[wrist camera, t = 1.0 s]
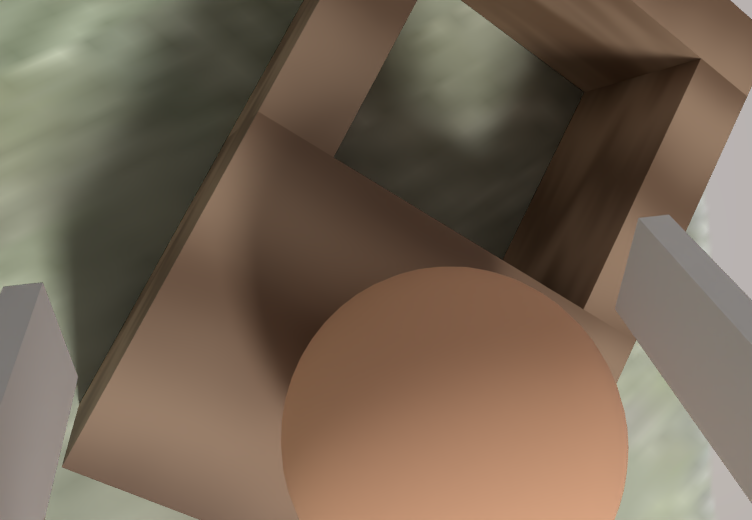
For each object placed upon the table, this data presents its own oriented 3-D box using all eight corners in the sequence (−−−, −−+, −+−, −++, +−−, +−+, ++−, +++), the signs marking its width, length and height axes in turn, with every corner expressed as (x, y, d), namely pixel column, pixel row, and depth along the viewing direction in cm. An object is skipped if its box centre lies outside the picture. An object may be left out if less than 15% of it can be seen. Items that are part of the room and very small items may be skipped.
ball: (196, 361, 23) (244, 457, 13) (433, 207, 25) (610, 196, 16) (346, 585, 25) (477, 802, 16) (549, 422, 28) (766, 523, 18)
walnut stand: (421, 546, 35) (501, 634, 27) (79, 404, 29) (61, 466, 22) (646, 75, 38) (773, 38, 31) (378, -136, 32) (454, -245, 25)
